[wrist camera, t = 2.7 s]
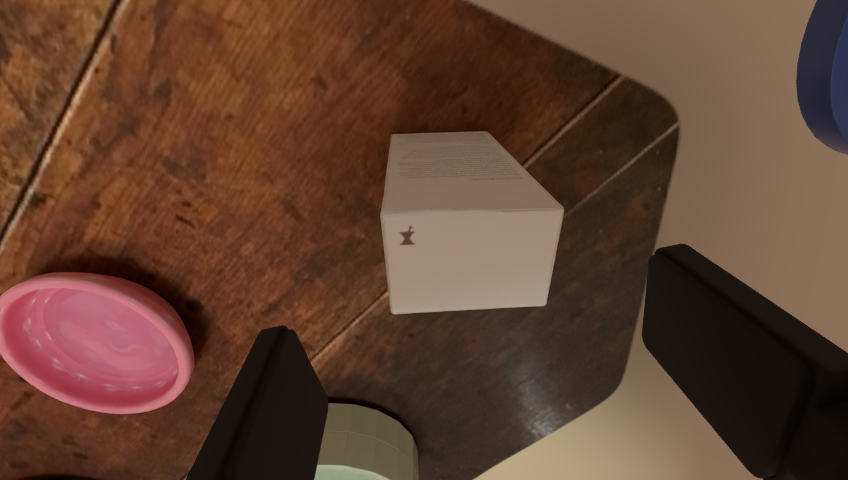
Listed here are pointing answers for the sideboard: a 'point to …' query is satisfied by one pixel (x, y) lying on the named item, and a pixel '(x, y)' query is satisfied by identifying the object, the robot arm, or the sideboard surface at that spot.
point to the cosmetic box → (464, 225)
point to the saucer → (95, 341)
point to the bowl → (365, 446)
